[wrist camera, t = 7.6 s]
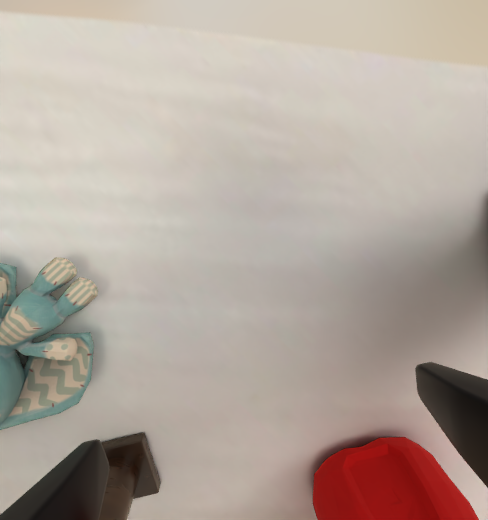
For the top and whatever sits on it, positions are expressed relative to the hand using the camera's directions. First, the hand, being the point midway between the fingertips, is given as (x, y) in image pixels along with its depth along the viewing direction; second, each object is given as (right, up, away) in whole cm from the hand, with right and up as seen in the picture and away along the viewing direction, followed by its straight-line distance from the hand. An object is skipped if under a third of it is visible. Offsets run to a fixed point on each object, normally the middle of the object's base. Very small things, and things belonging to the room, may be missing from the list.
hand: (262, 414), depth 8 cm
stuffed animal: (-14, 0, +11) cm, 18 cm away
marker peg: (-9, -10, +13) cm, 19 cm away
